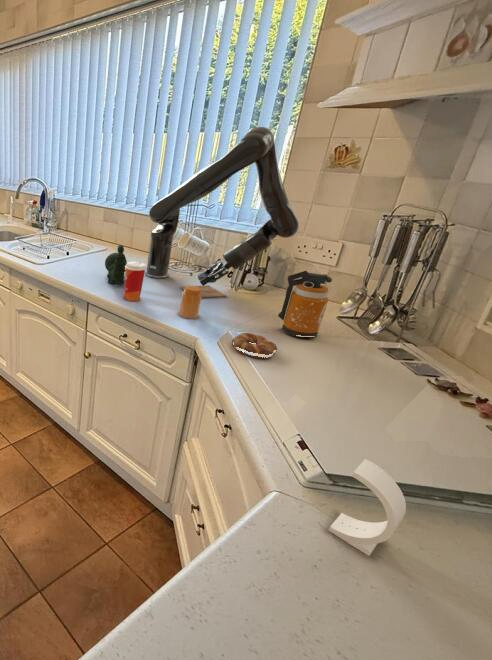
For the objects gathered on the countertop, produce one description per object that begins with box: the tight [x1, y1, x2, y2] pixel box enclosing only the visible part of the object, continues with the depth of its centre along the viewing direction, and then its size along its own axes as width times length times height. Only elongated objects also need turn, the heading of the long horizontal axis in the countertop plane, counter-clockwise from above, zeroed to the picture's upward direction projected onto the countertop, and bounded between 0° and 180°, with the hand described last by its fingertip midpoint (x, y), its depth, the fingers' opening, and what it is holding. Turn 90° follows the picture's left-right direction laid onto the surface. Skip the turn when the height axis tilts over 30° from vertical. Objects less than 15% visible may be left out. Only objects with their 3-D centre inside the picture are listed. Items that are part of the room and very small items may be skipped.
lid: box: [198, 272, 217, 284], centre depth 156 cm, size 6×6×2 cm
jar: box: [178, 285, 202, 320], centre depth 136 cm, size 6×6×10 cm
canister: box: [277, 270, 333, 339], centre depth 120 cm, size 9×11×20 cm
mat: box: [180, 285, 227, 299], centre depth 158 cm, size 12×12×1 cm
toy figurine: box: [104, 244, 128, 286], centre depth 171 cm, size 9×19×25 cm
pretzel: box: [231, 332, 278, 360], centre depth 114 cm, size 12×11×4 cm
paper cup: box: [123, 261, 147, 302], centre depth 151 cm, size 8×8×14 cm
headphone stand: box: [328, 458, 407, 557], centre depth 58 cm, size 5×6×12 cm
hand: (200, 280), depth 157 cm, fingers closed on lid, 6 cm apart
